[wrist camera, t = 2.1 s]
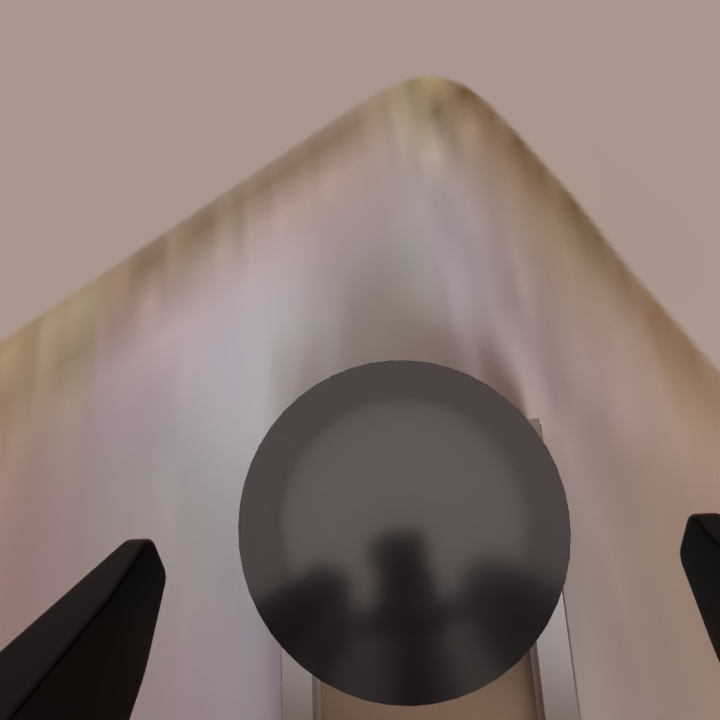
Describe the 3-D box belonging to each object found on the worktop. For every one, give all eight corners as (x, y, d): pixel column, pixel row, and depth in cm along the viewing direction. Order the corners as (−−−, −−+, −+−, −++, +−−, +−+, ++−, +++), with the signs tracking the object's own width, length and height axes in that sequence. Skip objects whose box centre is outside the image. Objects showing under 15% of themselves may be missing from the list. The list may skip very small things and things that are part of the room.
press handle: (511, 607, 15) (729, 827, 4) (330, 613, 16) (135, 826, 5) (491, 425, 17) (621, 261, 6) (325, 435, 17) (163, 300, 6)
